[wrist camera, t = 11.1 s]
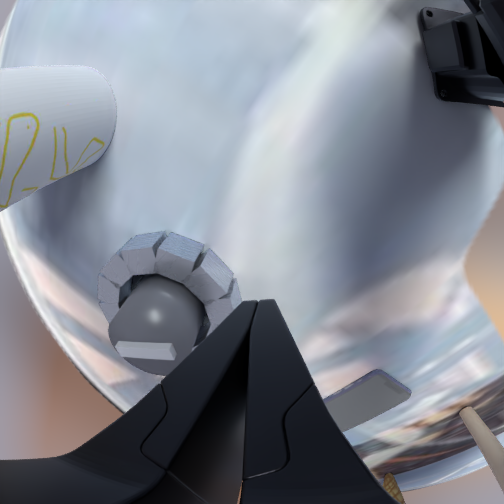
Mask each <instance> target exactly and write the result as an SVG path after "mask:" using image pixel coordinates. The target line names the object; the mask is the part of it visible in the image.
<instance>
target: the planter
mask: <svg viewBox="0 0 504 504" xmlns="http://www.w3.org/2000/svg"><path fill="white" fill-rule="evenodd" d="M459 415H460V417H461V418H462V420H463V422H464V423H465V425H466V427H467V429H468V430H469V432H470V433H471V435H472V437H473V438H474V440H475V442H476V444H477V445H478V447H479V449H480V450H481V452H482V454H483V456H484V457H485V459H486V461H487V463H488V465H489V466H490V468H491V470H492V472H493V474H494V476H495V477H496V479H497V481H498V483H499V485H500V487H501V489H502V491H503V493H504V448H503V446H502V445H501V444H500V442H499V441H498V440H497V438H496V437H495V436H494V435H493V433H492V432H491V431H490V429H489V428H488V427H487V426H486V424H485V423H484V422H483V421H482V419H481V418H480V417H479V416H478V414H477V413H476V412H475V411H474V409H473V408H472V407H470V406H469V407H465V408H464V409H462V410H461V411H460V412H459Z"/></svg>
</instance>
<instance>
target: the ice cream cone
mask: <svg viewBox="0 0 504 504" xmlns="http://www.w3.org/2000/svg"><path fill="white" fill-rule="evenodd" d="M383 487H384V489H385V490H386V491H387V492H388V493H389V494H390V495H391V496H392V497H394V498H395V499H396V500H397V501H398V502H400V503H401V504H406V503H405V501H404V499H403V496H402V494H401V491H400V489H399V487H398V485H397V483H396V480H395V478H394V476H393V474H392V473H388V474H386V475H385V478H384V482H383Z"/></svg>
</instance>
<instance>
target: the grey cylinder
mask: <svg viewBox="0 0 504 504" xmlns="http://www.w3.org/2000/svg"><path fill="white" fill-rule="evenodd" d="M116 117H117V108H116V100H115V96H114V93H113V90H112V88H111V85H110V84H109V82H108V80H107V79H106V78H105V77H104V75H102V74H101V73H100V72H99V71H97V70H96V69H94V68H91V67H88V66H74V65H49V66H25V67H11V68H1V69H0V212H1V211H2V210H4V209H6V208H7V207H9V206H11V205H13V204H14V203H16V202H18V201H20V200H21V199H23V198H25V197H27V196H28V195H30V194H32V193H34V192H36V191H38V190H40V189H42V188H43V187H45V186H47V185H49V184H51V183H53V182H55V181H57V180H59V179H61V178H63V177H65V176H67V175H70V174H72V173H74V172H76V171H78V170H80V169H82V168H85V167H87V166H89V165H91V164H93V163H94V162H95V161H97V160H98V159H99V158H100V157H101V156H102V155H103V153H104V152H105V151H106V149H107V148H108V146H109V144H110V142H111V139H112V137H113V134H114V130H115V126H116Z"/></svg>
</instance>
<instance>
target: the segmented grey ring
mask: <svg viewBox="0 0 504 504" xmlns="http://www.w3.org/2000/svg"><path fill="white" fill-rule="evenodd" d="M203 247H204V244H201V243H199V242H196V241H193V240H191V239H188V238H186V237H183V236H180V235H178V234H175V233H173V232H171V233H170V234H169V235H168V236H167V235H166V232H165V231H163V232H156V233H149V234H143V235H136V236H135V237H134V238H133V239H132V238H131V239H130V240H129V241H128V242H127V243H126V244H125V245H124V246H123V247H122V248H121V249H120V250H119V251H118V252H117V253H116V254H115V255H114V256H113V257H112V258H111V259H110V260H109V261H108V263H107V264H106V265H105V266H104V267H103V268H102V269H101V270H100V272H101V273H100V274H99V275H98V299H99V300H101V301H100V302H99V305H100V307H101V309H102V311H103V313H104V315H105V317H106V319H107V321H108V322H109V324H110V322H111V321H112V319H113V318H114V316H115V315H116V314H117V312H118V311H119V309H120V308H121V307H122V305H123V304H124V302H125V301H126V300H127V298H128V297H129V295H130V294H131V293H132V290H131V284H132V277H133V275H141V274H153V273H158V274H160V275H163V276H165V277H168V278H170V279H173V280H175V281H178V282H180V283H183V284H184V285H185V286H186V287H187V288H188V289H189V290H190V291H191V292H192V293H193V294H195V295H196V296H197V297H198V298H199V299H200V300H201V301H202V302H203V303H204V306H205V309H206V312H207V315H208V318H209V321H210V322H209V323H207V324H206V325H204V326H202V327H201V328H200V330H199V333H198V336H197V338H196V341H195V344H194V346H193V349H192V351H193V350H194V349H195V348H196V347H197V346H198V345H199V344H200V343H201V342H202V341H203V340H204V339H205V338H206V337H207V336H208V335H209V334H210V333H211V332H212V331H213V330H214V329H215V328H216V327H217V326H218V325H219V324H220V323H221V322H222V321H223V320H224V319H225V318H226V317H227V316H228V315H229V314H230V313H231V312H232V311H233V310H234V309H235V308H236V307H237V306H238V305H239V304H240V303H241V302H242V300H241V296H240V292H239V287H238V283H237V279H236V278H234V279H232V276H233V272H232V271H231V270H230V269H229V268H228V267H227V266H226V265H225V264H224V263H223V262H222V261H221V260H220V259H219V258H218V257H217V256H216V254H215V253H214V252H213V251H212V250H211V249H210V248H209V249H208V250H207V251H205V252H204V253H203V254H201V253H202V250H203Z"/></svg>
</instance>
